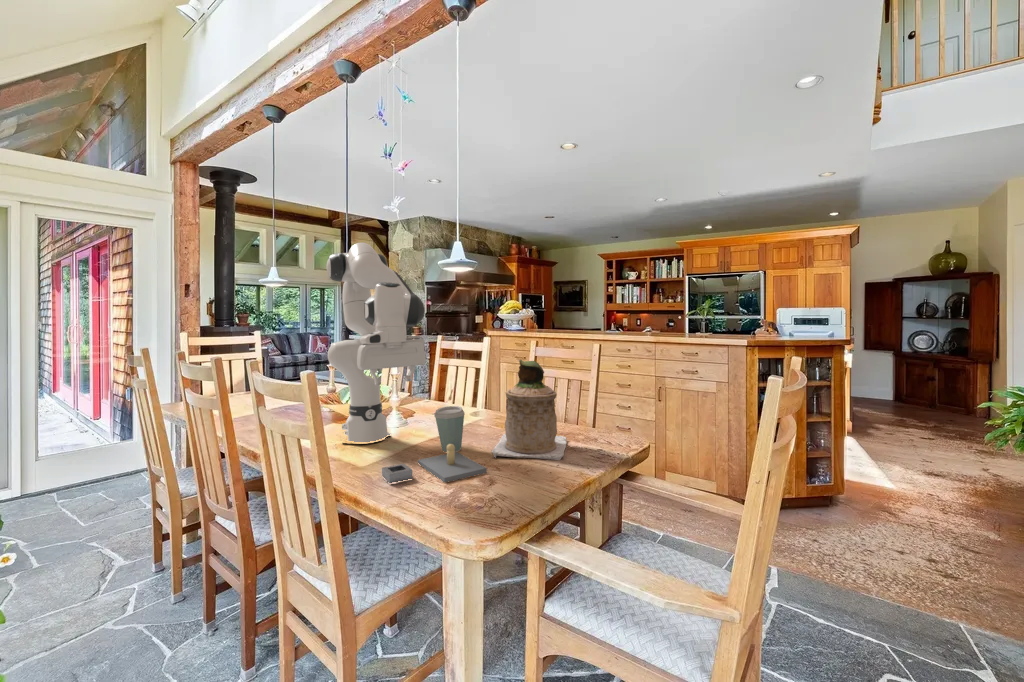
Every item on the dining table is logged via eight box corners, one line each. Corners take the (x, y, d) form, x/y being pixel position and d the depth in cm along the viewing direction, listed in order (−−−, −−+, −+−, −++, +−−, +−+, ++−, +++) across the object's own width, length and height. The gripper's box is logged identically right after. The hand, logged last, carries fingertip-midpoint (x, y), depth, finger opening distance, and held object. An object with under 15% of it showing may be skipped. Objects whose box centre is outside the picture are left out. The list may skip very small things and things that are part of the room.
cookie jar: (564, 461, 151) (563, 362, 149) (489, 459, 155) (487, 363, 153) (567, 440, 175) (566, 355, 173) (502, 438, 179) (501, 355, 177)
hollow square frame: (382, 478, 139) (381, 467, 138) (404, 473, 142) (403, 463, 142) (389, 485, 133) (389, 474, 133) (412, 480, 137) (412, 469, 136)
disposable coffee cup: (464, 455, 159) (462, 411, 158) (432, 455, 159) (431, 412, 158) (467, 446, 170) (466, 405, 169) (438, 446, 170) (436, 405, 169)
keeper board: (417, 464, 151) (417, 440, 150) (457, 456, 158) (456, 433, 158) (444, 483, 134) (443, 456, 133) (486, 472, 142) (486, 447, 141)
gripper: (420, 335, 148) (422, 378, 148) (354, 338, 136) (356, 385, 137) (428, 335, 142) (430, 380, 143) (360, 338, 131) (362, 387, 132)
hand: (393, 382), depth 140 cm, fingers open, 8 cm apart
